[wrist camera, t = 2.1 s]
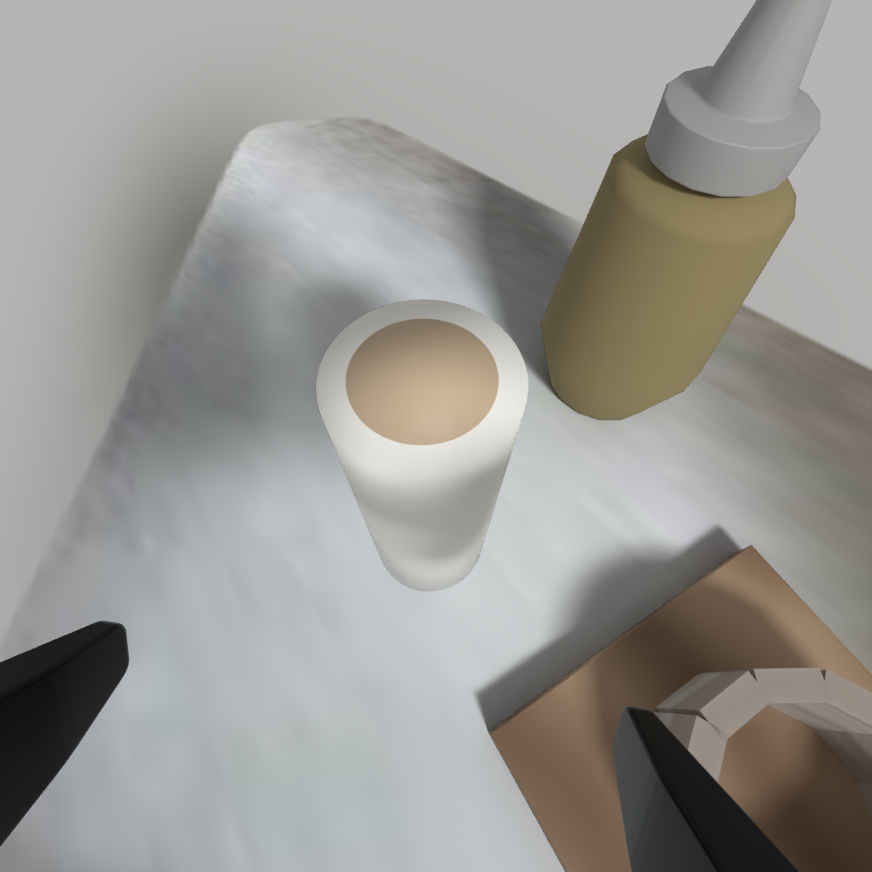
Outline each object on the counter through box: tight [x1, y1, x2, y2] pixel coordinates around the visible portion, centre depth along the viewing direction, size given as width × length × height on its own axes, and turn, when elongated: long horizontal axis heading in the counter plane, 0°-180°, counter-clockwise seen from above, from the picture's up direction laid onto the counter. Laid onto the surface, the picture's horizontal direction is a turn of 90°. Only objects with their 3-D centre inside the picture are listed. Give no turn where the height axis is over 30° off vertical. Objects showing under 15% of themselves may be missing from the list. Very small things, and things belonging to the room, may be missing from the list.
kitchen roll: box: [316, 300, 528, 591], centre depth 17 cm, size 5×5×13 cm
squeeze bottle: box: [541, 0, 832, 420], centre depth 19 cm, size 8×8×18 cm
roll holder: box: [489, 545, 872, 872], centre depth 16 cm, size 14×14×5 cm
